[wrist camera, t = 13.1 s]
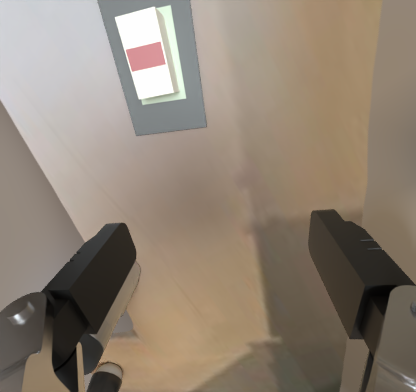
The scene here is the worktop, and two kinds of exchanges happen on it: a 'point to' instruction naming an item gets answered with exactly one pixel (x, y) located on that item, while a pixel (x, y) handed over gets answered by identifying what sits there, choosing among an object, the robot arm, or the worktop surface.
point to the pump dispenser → (106, 379)
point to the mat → (183, 61)
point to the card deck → (148, 52)
